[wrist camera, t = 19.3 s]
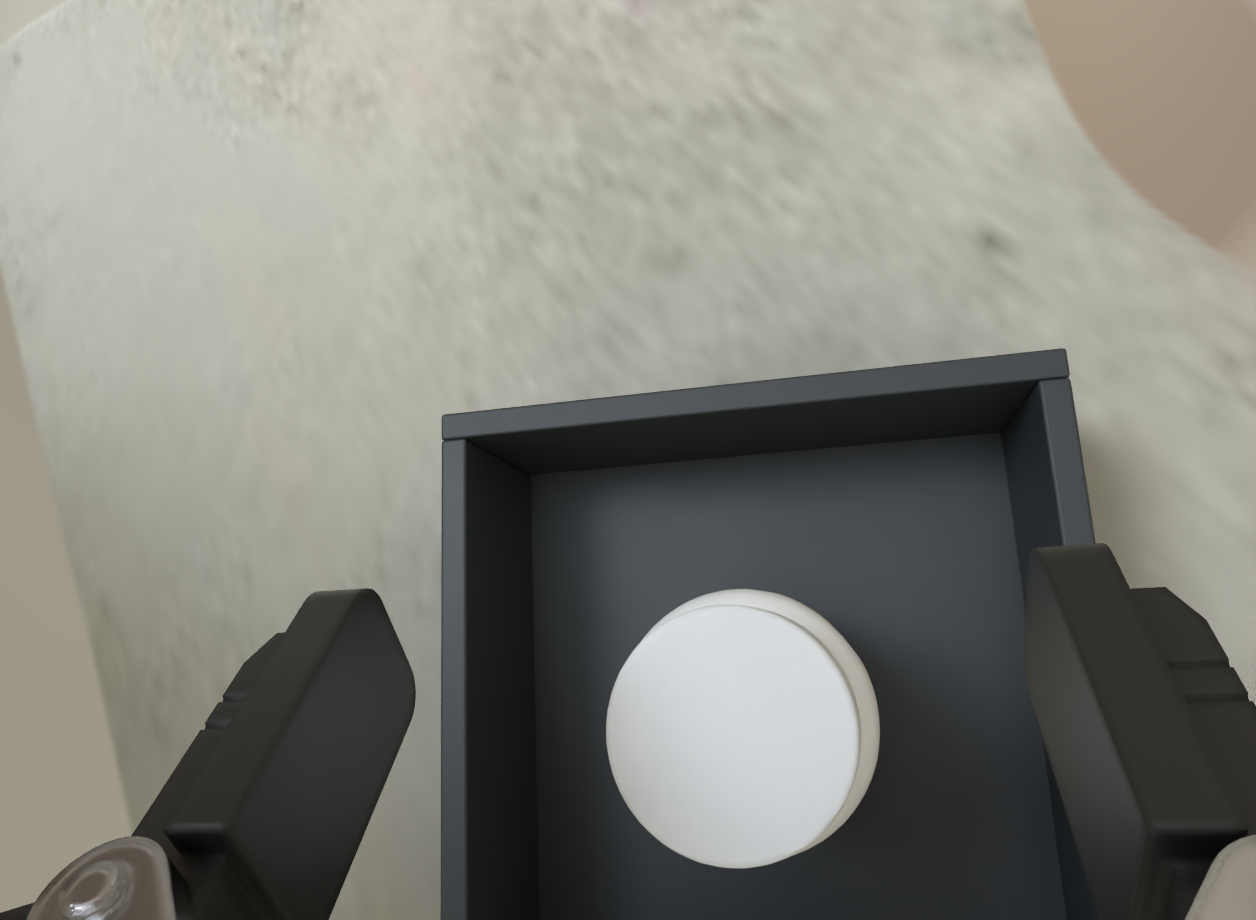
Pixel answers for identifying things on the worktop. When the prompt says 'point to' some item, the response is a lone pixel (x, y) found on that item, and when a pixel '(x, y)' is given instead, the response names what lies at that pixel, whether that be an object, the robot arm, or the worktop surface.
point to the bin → (773, 562)
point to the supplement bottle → (742, 729)
